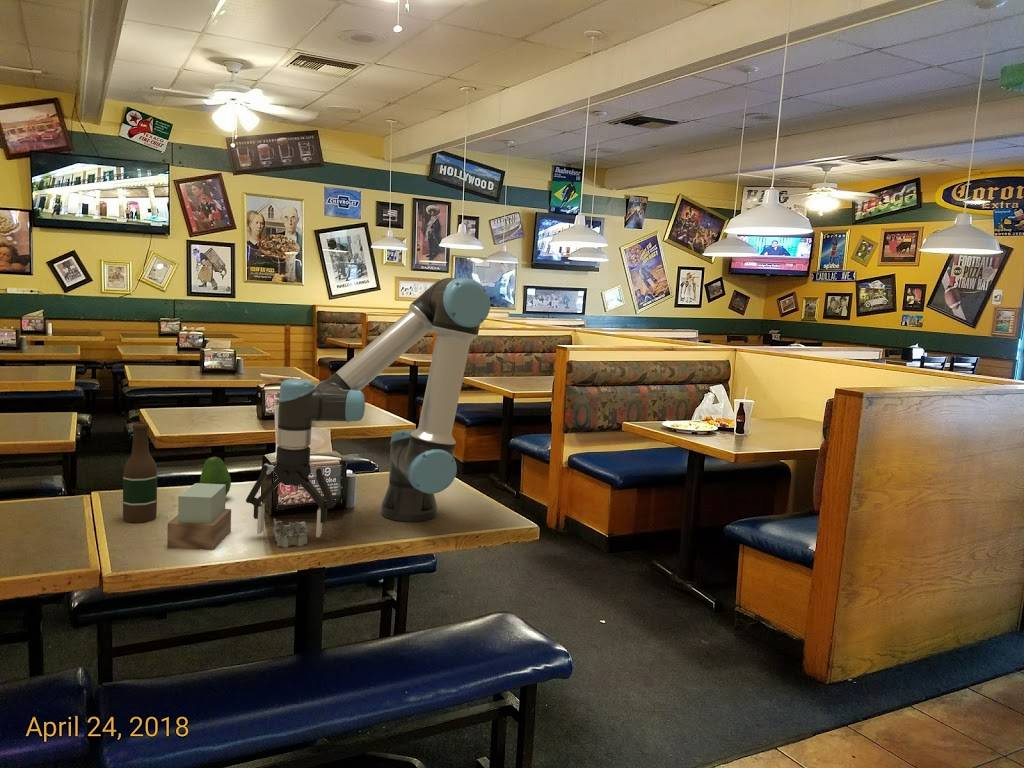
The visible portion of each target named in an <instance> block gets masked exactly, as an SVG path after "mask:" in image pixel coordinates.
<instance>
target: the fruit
mask: <svg viewBox="0 0 1024 768" xmlns="http://www.w3.org/2000/svg"><path fill="white" fill-rule="evenodd" d="M199 483H204V484H226V496H227V495H228V494H229V492H230V489H231V486H232V479H231V476H230V472H229V470H228V468H227V465H226V464H225V462H224V461H223V459H222V458H220V457H217V456H212V457H211V456H210V457H208V458H207V459H206V460H205V462H204V464H203V466H202V471H201V475H200V478H199Z"/></svg>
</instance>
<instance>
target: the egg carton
mask: <svg viewBox="0 0 1024 768" xmlns="http://www.w3.org/2000/svg"><path fill="white" fill-rule="evenodd" d="M272 528H273V529H272V536H273V537H274V541H275V542H276V546H277V547H282V548H288V547H290V546H297V547H302V546H304V545H307V544H308V532H309V530H308V527H307V523H306V521H301V522H300V521H295V522H294V523H293V522H291V521H289V522H288V524H287V525H284V523H283V521H282V520H276V518H273V527H272ZM282 534H283V535H284V536H282Z"/></svg>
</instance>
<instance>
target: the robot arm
mask: <svg viewBox="0 0 1024 768" xmlns="http://www.w3.org/2000/svg"><path fill="white" fill-rule="evenodd" d="M490 311H491V299H490V295H489V293H488V291H487V290H486V288H485V286H484V285H482V284H481V283H480V282H479V281H476V280H475V279H471V278H468V277H462V276H461V277H455V278H454V277H446V278H445V277H444V278H441V279H439V280H437V281H436V282H434V283H433V284H431V285H430V286H429V287H428V288H427V289H426V290H424V291H423V292H422V293H421V294H420V295H419V296H418V297H417V298H415V299H414V301H412V302H411V303H410V304H409V307H408V311H407V312H405V314H403V315H402V316H401V317H400V318H399V319H397V320H396V321H394V323H393V324H391V325H390V326H389V327H387V329H385V331H383V332H382V333H381V334H380V335H378V336H377V337H375V339H374V340H373V341H371V342H370V343H369V344H368V345H367V346H365V347H364V348H363V349H362V350H361V351H359V352H358V353H357V354H355V356H354V357H352V358H351V359H350V360H349V361H348V362H346V363H345V364H344V365H343V366H342V367H340V368H339V369H338V370H337V371H336V372H335V373H333V374H332V375H330V377H329V378H327V379H326V380H322V381H319V382H318V383H317V384H316V385H314V382H313V381H312V380H307V379H298V378H297V379H296V378H294V379H293V378H292V379H291V378H289V379H286V380H283V381H282V382H281V383H280V388H279V397H278V398H279V400H278V406H279V410H278V434H277V441H276V444H278V445H279V446H278V447H277V456H276V465H275V466H274V465H273V464H269V463H268V462H267V463H264V464H263V465H262V466H261V469H260V470H261V471H260V474H259V476H258V478H257V479H256V481H255V483H254V485H253V487H252V489H250V492H249V494H248V495H247V497H246V499H245V502H246V503H247V504H251V505H253V519H254V520H257V524H256V525H257V526H256V527H257V528H256V533H257V535H261V534H262V533H263V531H264V528H265V510H266V509H265V505H266V503H262V502H263V501H264V500H265V499H266V498H267V497H268V496H269V495H270V494H271V493H272V492H274V489H275V488H276V487H277V486H278V485H279V484H280V483H282V484H284V485H293V486H298V485H300V486H301V487H302V488H303V489H304V490H306V492H307V493H308V495H309V497H311V498H312V500H313V501H314V502H315V503H316V504H317V506H318V509H317V512H316V530H315V537H316V538H320V537H321V535H322V532H323V531H322V529H323V523H324V524H325V523H326V522H327V519H328V510H329V509H333V508H334V507H335V505H336V500H335V498H334V495H333V494H332V490H331V488H330V487H329V484H328V482H327V480H326V478H325V474H324V467H323V466H318V467H313V468H311V465H310V464H311V447H310V445H311V444H312V443H311V441H312V423H313V422H346V423H350V422H360V421H361V420H363V418H364V416H365V409H366V399H365V395H364V392H362V389H364V388H365V387H366V386H367V385H369V384H370V383H371V382H372V381H373V380H374V379H376V377H378V376H379V375H380V374H381V373H382V372H384V371H385V370H386V369H387V368H389V367H390V365H392V364H393V363H395V361H396V360H398V359H399V358H400V357H401V356H402V355H403V354H404V353H406V352H407V351H408V350H409V349H411V347H413V346H414V345H415V344H417V342H419V341H420V340H421V339H422V338H424V337H425V336H426V335H427V334H429V333H431V334H433V333H435V334H436V337H435V342H434V346H433V347H434V348H433V352H432V357H431V362H430V367H429V371H428V372H429V373H428V377H427V381H426V382H427V383H426V387H425V392H424V398H423V403H422V407H421V412H420V417H419V420H418V421H419V423H418V427H417V428H416V429H405V430H403V429H401V430H395V431H393V432H392V433H391V439H390V442H389V444H390V451H389V452H390V453H389V456H390V457H389V473H388V474H389V475H388V478H389V479H388V487H387V489H386V492H385V494H384V496H383V500H382V502H381V507H380V508H381V509H380V513H381V515H382V516H383V517H385V518H386V519H389V520H393V521H398V522H409V523H410V522H411V523H412V522H423V521H427V520H432V519H434V518H435V517H436V516H437V514H438V503H437V501H436V496H435V494H437V493H438V494H439V493H440V492H443V491H445V490H446V489H447V488H449V487H450V486H451V485H452V483H453V482H454V480H455V478H456V476H457V471H458V470H457V469H458V467H457V462H456V460H455V458H454V454H455V449H456V444H457V441H456V439H455V438H454V437H453V435H452V434H453V428H454V423H455V419H456V413H457V409H458V404H459V401H460V400H459V399H460V393H461V391H462V390H461V389H462V385H463V380H464V375H465V370H466V365H467V360H468V355H469V350H470V345H471V342H472V341H473V340H475V339H476V338H478V337H479V331H480V326H481V324H482V323H484V321H485V320H486V319H487V318H488V315H489V313H490ZM272 472H273V474H274V473H275V474H276V476H277V477H278V478H277V479H276V480H275V481H274V480H273V482H272V483H271V484H270V486H268V487H267V488H266V490H264V491H263V492H262V493H261V494H260V495H259V496H258V497H256V496H257V494H258V492H259V491H260V489H261V487H262V485H263V484H264V482H265V481H266V478H267V477H268V476H269V475H271V474H272ZM311 474H312V475H313V477H314V478H316V481H317V484H318V486H319V488H320V490H321V493H322V494H323V496H322V495H321V493H320V492H319V491H318V489H317V488H316V487H315V485H314V484H313V483H312V481H311V480H310V479H309V476H310V475H311ZM433 517H434V518H433ZM431 518H432V519H431Z"/></svg>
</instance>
